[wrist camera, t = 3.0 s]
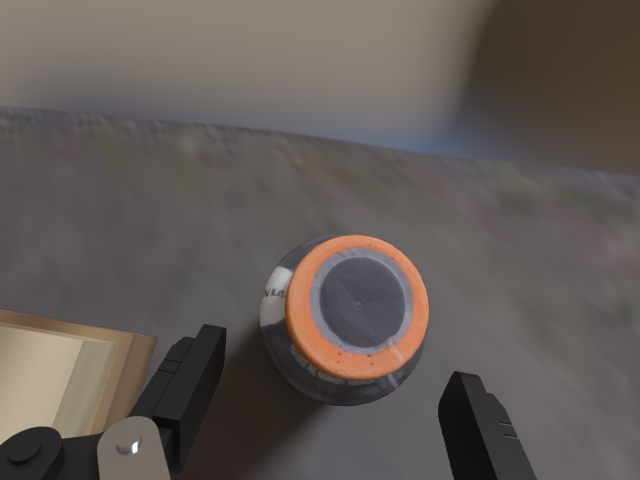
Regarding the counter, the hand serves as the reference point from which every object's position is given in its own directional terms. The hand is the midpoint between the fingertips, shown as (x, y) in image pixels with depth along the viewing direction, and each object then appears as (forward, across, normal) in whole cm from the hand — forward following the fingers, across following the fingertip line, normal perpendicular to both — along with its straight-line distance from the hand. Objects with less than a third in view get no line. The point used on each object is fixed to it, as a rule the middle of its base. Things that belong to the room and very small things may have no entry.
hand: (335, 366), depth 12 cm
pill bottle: (+7, 0, +4) cm, 8 cm away
